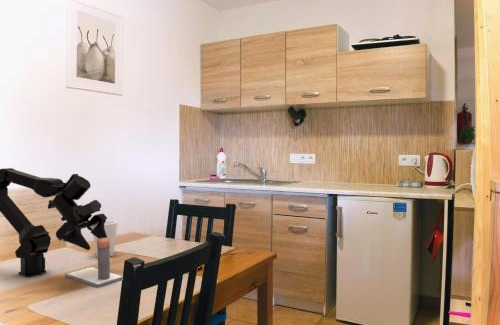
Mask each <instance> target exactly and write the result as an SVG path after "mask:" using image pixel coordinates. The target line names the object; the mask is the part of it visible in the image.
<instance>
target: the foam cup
mask: <svg viewBox="0 0 500 325" xmlns="http://www.w3.org/2000/svg"><path fill="white" fill-rule="evenodd" d="M104 229H105V232H106V235H107V238H110V257H113V256H114V253H115V252H114V251H115V246H116V237H117V229H118V221H117V220H106V222H105V223H104ZM92 235H93V234H92ZM97 239H99V238H97V237H96V236H95V235H93V243H94V250H95V255H96V258H98V248H97Z"/></svg>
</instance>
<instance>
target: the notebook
mask: <svg viewBox="0 0 500 325" xmlns="http://www.w3.org/2000/svg"><path fill="white" fill-rule="evenodd" d="M122 276H123V275H122V274H121V275H120V274H118V273H115V272H111V271H110V278H109V279H105V280H99V279H98V267H94V266H91V267H87V268H84V269H78V270H75V271H72V272H67V273H65V274H64V277H66V278H68V279H70V280H71V279H72V280H74V281H77V282H80V283H83V284H84V285H88V286H92V287H95V288H98V289H99V288H101V287H104V286H107V285H111V284H113V283H117V282H120V281H123V280H122Z"/></svg>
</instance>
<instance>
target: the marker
mask: <svg viewBox="0 0 500 325" xmlns="http://www.w3.org/2000/svg"><path fill="white" fill-rule="evenodd" d="M97 248H98V257H97V268H98V279H99V280H105V279H109V278H110V272H111V270H110V269H111V261H110V260H111V259H110V258H111V256H110V238H99V239H97Z"/></svg>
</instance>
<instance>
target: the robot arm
mask: <svg viewBox="0 0 500 325" xmlns="http://www.w3.org/2000/svg"><path fill="white" fill-rule="evenodd" d="M11 183H12V184H14V185H18V186H21V187H24V188H28V189H31V190H32V191H33V192H34V193H35V194H36V195H38V196H40V197H42V198H52V197H54V198H52V199H50V200H48V205H47V209H48V210H50V209H56V210H57V211H58V213H59V214H60V215H61V218H60V220H61V221H62V222H63V224H62V225H60V227H59V228H58V229H57V230H56V232H55V237H56V238H57V240H59V241H63V242H66V243H69V244H72V245H74V246H76V247H79V248H81V249H85V250H86V251H90V250H91V248H92V247H91V246H90V244H89V242H88V241H87V239H86V238H85V237H84V235H83V234H82V229H83V230H84V229H87V230H88V231H89V232H90V233H91V234H92V235H95V236H96V237H97V238H107V235H106V232H105V229H104V223H105V222H106V221H107V219H108V217H107V216H106V215H105V213H97V212H100V211H101V208H102V203H100V201H98V199H94V200H92V201H90V202H89V203H86V204H84V205H83V204H80V205H78V203H77V202H76V201H79V200H80V199H81V198H82V197H83V196H84V195H85V194H86V192H88V190H89V189H90V188H91V183H90V181H89V180H88V179H86V178H84V177H83V176H80V175H79V174H78V173H72V174H71V175H70V177H69V178H68V180H67V181H66V182H64V181H63V180H62V178H61V179H60V178H53V177H39V176H36V175H33V174H30V173H27V172H23V171H20V170H17V169H15V168H12V167H8V168H7V167H6V168H0V213H1V214H2V215H3V216H4V218H5V220H7V222H8V223H9V224H10V225H11V226H12V228H13V229H14V230H15V231H16V233H17V234H18V243H19V244H20V245H19V247H18V248H17V249H16V250H15V252H14V253H15V257H16V258H17V259H20V271H18V273H17V274H19V275H20V276H21V275H22V276H23V277H26V278H29V277H33V276H37V275H38V276H39V275H41V274H45V273H47V270H46V257H44V256H45V255H44V254H47V253H48V250H49V247H50V245H51V240H52V238H51V236H50V232H49V231H47V229H46V228H45V227H44V225H42V224H39V225H34V224H33V223H32V222H31V221H30V220H29V219H28V217H27V216H26V215H25V214H24V213H23V212H22V210H21V208H19V207H18V205H17V204H16V203H15V201H13V199H12V198H11V197H10V196H9V189H8V187H9V186H10V185H11ZM75 200H76V201H75ZM95 213H97V214H95ZM93 214H94V215H93ZM64 221H65V222H64Z"/></svg>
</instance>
